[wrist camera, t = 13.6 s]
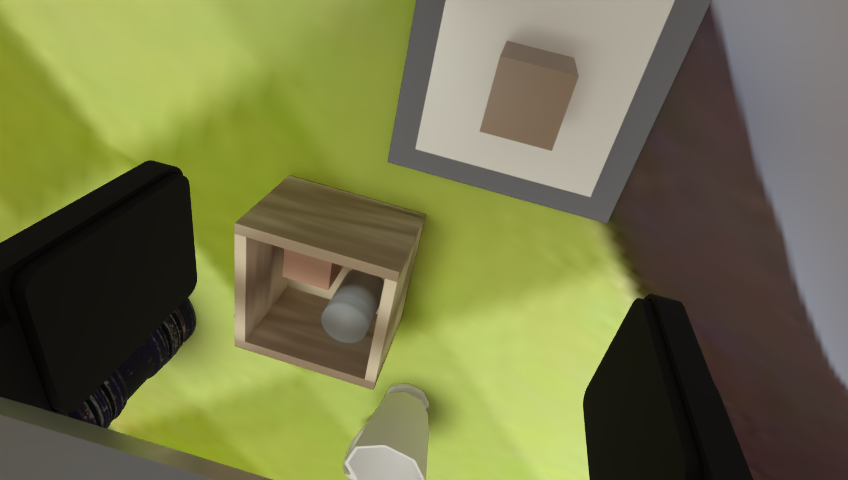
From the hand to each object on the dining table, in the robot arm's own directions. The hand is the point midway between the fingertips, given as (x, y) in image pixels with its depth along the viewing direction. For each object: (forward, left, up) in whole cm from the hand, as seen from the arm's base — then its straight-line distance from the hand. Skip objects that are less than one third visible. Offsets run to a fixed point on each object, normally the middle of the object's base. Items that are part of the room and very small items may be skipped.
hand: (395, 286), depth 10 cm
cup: (+33, -1, -25) cm, 42 cm away
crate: (+17, -8, -25) cm, 31 cm away
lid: (0, +2, -24) cm, 24 cm away
